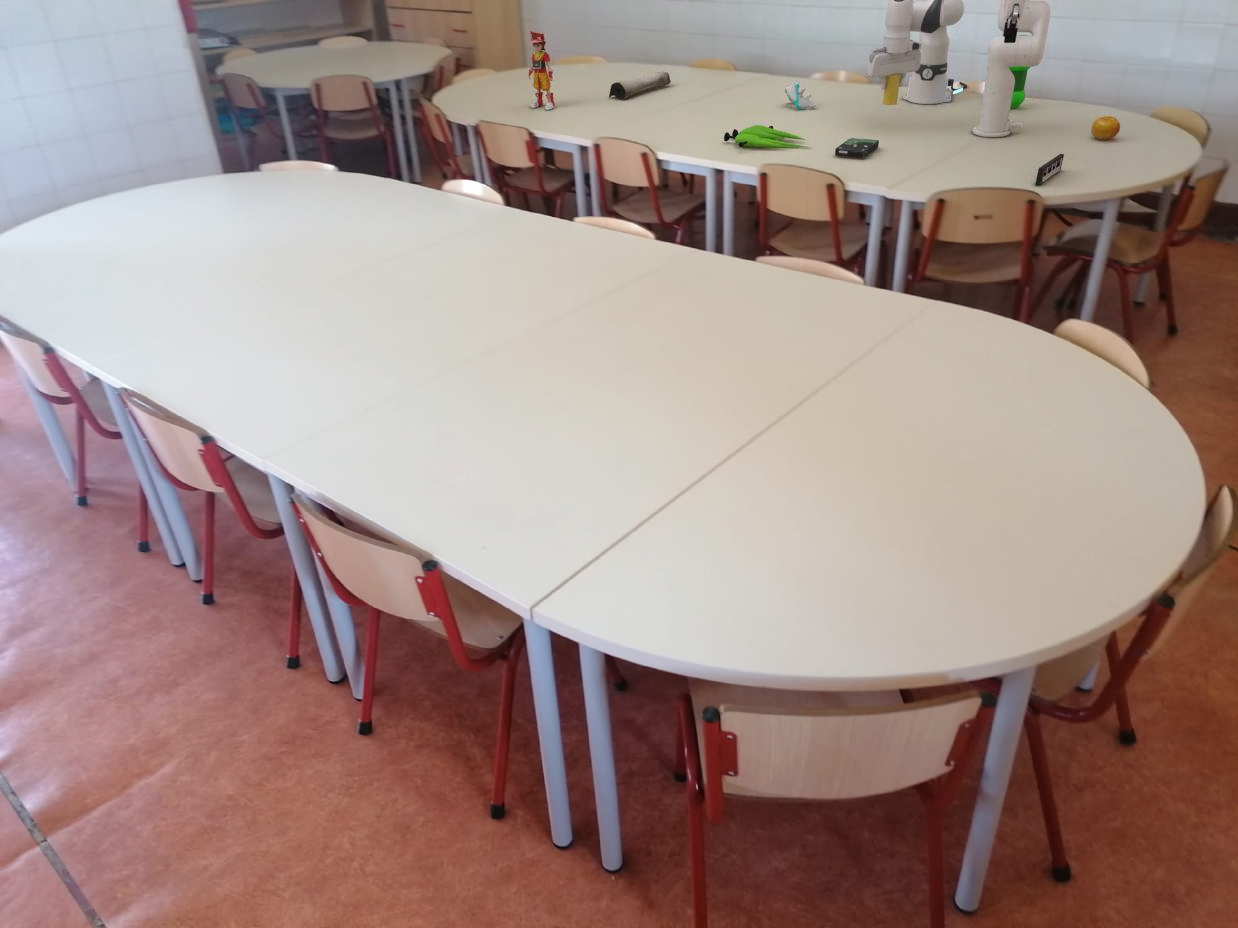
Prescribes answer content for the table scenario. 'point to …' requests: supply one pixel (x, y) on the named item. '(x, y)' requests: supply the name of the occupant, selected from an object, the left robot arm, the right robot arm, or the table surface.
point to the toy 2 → (761, 137)
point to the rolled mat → (638, 84)
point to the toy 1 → (541, 71)
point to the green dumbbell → (1018, 85)
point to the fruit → (1105, 127)
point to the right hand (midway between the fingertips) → (1008, 39)
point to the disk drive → (856, 148)
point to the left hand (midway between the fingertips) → (891, 87)
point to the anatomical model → (798, 96)
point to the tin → (891, 89)
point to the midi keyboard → (1049, 169)
